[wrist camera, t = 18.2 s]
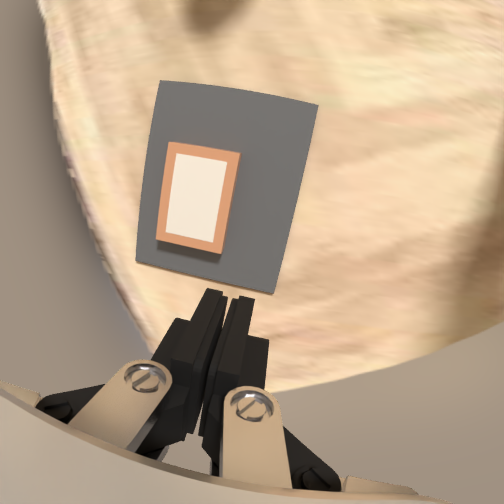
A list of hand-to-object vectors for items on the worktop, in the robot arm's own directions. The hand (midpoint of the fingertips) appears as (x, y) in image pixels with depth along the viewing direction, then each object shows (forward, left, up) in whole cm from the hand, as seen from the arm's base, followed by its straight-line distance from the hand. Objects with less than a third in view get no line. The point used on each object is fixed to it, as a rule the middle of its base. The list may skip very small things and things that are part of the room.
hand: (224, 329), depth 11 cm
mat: (-1, -5, -22) cm, 23 cm away
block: (0, -3, -21) cm, 21 cm away
